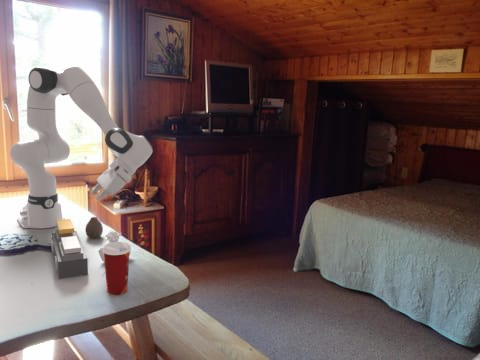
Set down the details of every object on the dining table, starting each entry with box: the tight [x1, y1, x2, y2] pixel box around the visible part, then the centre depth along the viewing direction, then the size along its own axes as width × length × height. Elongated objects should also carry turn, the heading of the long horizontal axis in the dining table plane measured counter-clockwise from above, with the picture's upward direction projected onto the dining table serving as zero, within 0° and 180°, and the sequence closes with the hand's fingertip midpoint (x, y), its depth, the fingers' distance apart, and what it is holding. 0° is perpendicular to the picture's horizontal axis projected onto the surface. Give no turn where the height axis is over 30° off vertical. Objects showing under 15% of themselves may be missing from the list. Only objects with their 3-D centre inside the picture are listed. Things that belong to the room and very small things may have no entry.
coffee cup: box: [103, 241, 132, 296], centre depth 125 cm, size 8×8×15 cm
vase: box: [85, 216, 104, 240], centre depth 170 cm, size 7×7×9 cm
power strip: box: [50, 227, 89, 280], centre depth 146 cm, size 30×9×8 cm, turn 29°
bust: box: [98, 230, 132, 263], centre depth 150 cm, size 12×8×11 cm
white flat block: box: [61, 236, 81, 254], centre depth 138 cm, size 12×5×2 cm, turn 29°
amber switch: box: [56, 218, 75, 234], centre depth 152 cm, size 12×5×2 cm, turn 29°
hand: (94, 196), depth 155 cm, fingers open, 8 cm apart
